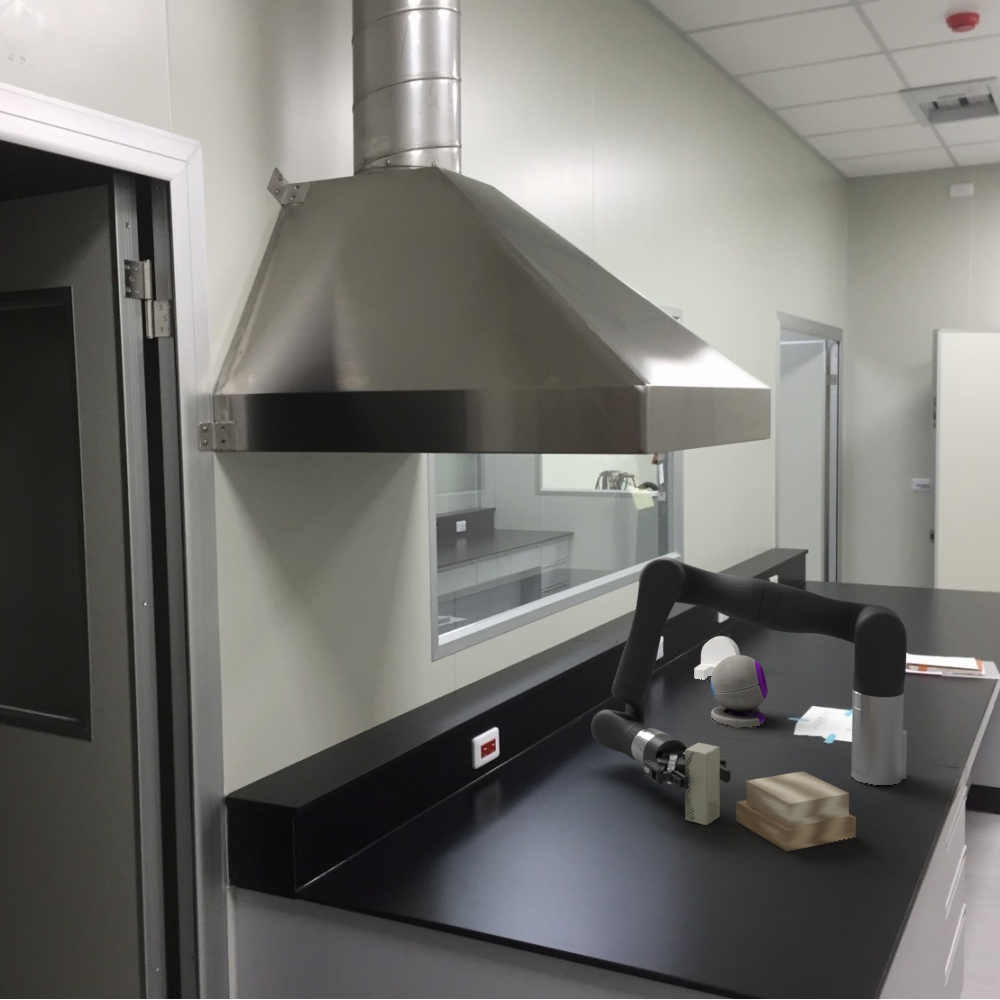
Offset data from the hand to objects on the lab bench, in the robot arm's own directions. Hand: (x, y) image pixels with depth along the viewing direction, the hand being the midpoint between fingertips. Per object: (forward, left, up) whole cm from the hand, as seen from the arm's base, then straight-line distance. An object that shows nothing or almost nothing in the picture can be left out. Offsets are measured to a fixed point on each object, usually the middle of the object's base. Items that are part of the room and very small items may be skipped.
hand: (707, 780), depth 183 cm
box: (0, -2, -8) cm, 8 cm away
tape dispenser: (-60, -86, -8) cm, 105 cm away
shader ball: (-41, -50, -8) cm, 65 cm away
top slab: (-12, +8, -4) cm, 15 cm away
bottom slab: (-12, +8, -8) cm, 17 cm away
